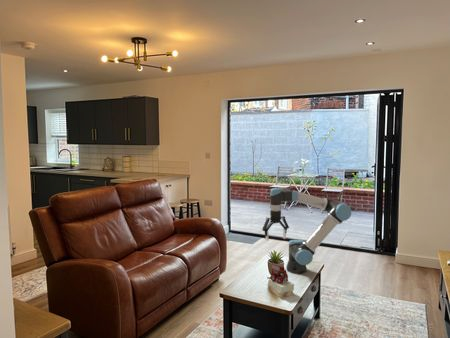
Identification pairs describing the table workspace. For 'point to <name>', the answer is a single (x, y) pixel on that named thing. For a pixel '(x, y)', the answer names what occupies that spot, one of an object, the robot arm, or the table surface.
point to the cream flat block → (282, 286)
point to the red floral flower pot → (278, 274)
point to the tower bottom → (279, 292)
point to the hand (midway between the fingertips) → (275, 239)
